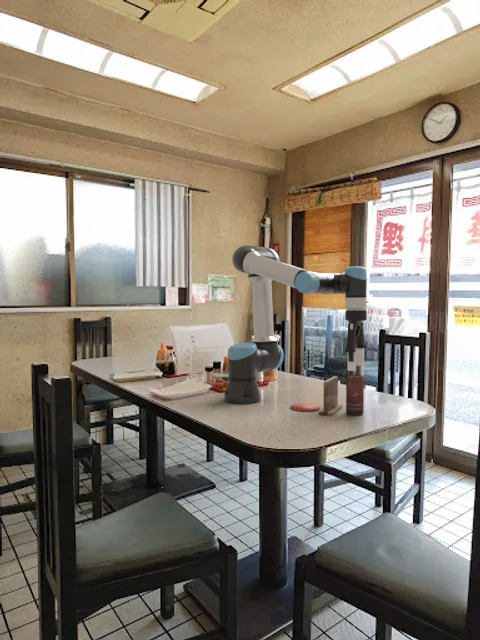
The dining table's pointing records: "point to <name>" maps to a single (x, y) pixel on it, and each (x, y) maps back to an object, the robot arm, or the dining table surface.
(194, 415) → the dining table surface
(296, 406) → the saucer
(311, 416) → the dining table surface
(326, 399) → the screen
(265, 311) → the robot arm
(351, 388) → the can
